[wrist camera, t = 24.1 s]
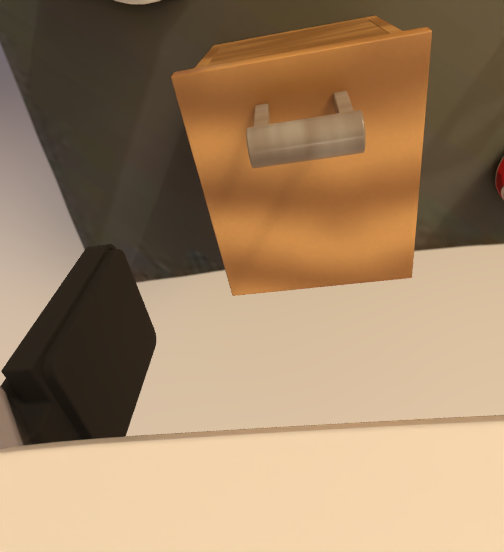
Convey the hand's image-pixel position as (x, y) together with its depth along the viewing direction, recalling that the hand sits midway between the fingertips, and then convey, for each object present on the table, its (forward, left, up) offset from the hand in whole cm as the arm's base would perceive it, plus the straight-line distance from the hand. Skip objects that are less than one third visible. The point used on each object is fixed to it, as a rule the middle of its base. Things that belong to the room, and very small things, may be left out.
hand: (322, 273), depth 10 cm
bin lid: (+3, -4, -17) cm, 17 cm away
